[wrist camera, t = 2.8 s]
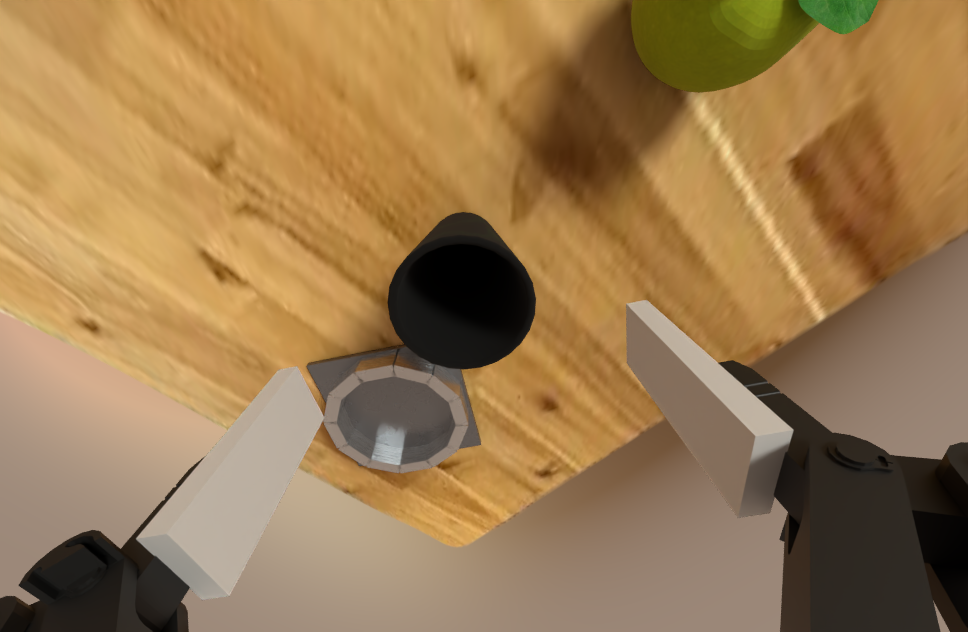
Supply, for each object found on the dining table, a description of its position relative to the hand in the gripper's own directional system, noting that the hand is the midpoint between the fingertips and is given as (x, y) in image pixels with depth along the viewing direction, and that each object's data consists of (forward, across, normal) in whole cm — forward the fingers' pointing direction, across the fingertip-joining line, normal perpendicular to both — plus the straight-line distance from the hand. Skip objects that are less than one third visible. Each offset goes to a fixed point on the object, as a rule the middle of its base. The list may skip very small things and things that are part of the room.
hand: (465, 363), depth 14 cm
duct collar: (+17, -10, -15) cm, 24 cm away
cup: (+17, 0, 0) cm, 17 cm away
